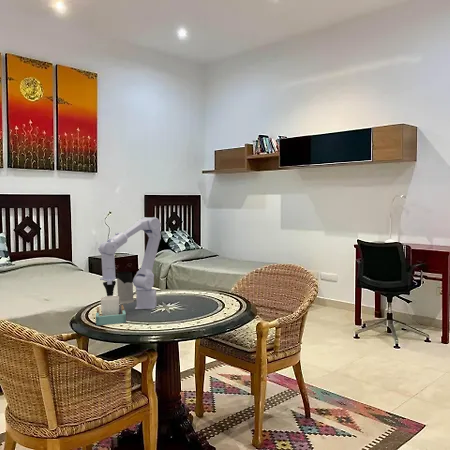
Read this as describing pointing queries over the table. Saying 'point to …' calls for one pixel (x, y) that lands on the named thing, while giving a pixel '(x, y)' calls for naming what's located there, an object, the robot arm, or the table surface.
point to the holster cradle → (121, 308)
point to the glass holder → (125, 287)
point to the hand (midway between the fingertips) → (110, 297)
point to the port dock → (111, 319)
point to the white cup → (110, 305)
